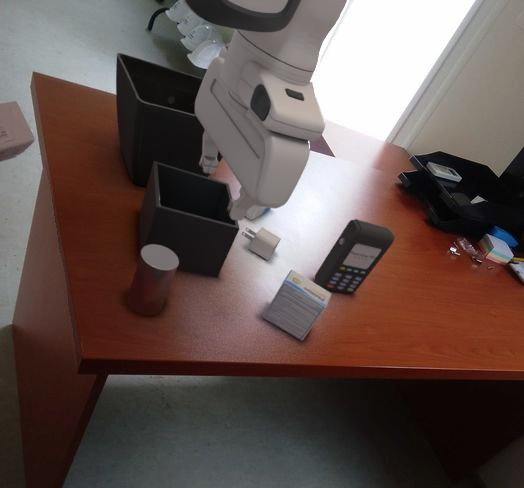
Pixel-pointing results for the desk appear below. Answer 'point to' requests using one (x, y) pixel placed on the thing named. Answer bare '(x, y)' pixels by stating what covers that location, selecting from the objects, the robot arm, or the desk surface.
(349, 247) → the card reader
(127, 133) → the flower pot
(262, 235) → the usb wall charger
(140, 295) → the drink can
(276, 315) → the medicine box
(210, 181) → the trash bin
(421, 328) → the desk surface
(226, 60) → the robot arm
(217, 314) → the desk surface
